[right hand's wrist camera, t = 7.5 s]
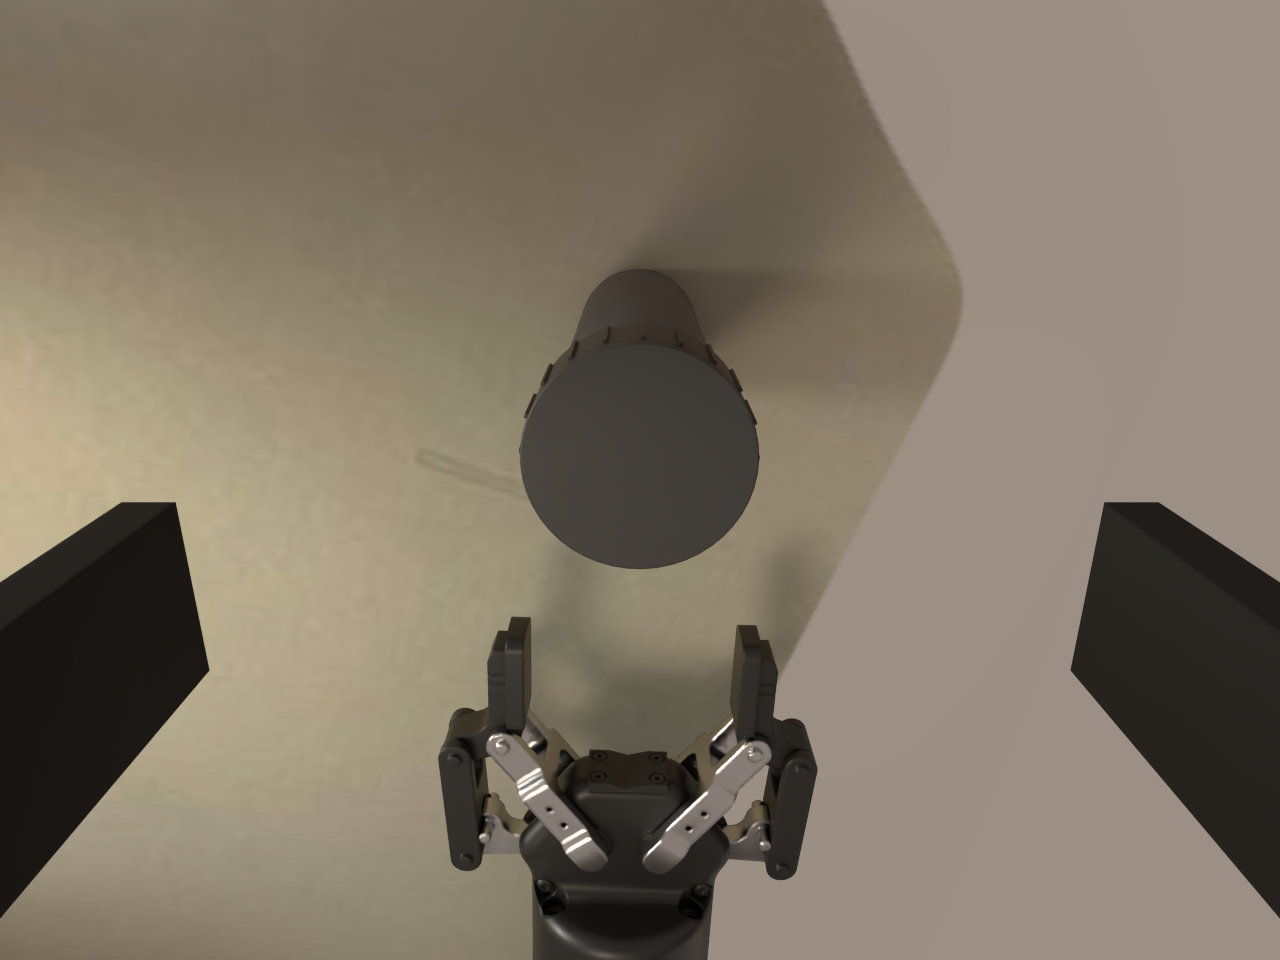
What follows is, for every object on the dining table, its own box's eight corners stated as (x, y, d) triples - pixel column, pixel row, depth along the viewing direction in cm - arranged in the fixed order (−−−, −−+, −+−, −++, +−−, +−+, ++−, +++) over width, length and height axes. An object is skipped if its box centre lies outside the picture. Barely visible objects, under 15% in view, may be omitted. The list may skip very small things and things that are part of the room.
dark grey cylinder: (660, 402, 35) (677, 577, 21) (561, 350, 35) (505, 493, 20) (716, 305, 34) (777, 417, 19) (615, 248, 33) (597, 319, 18)
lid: (680, 563, 23) (684, 608, 20) (493, 470, 22) (477, 506, 20) (790, 387, 21) (808, 415, 19) (593, 278, 20) (587, 294, 18)
